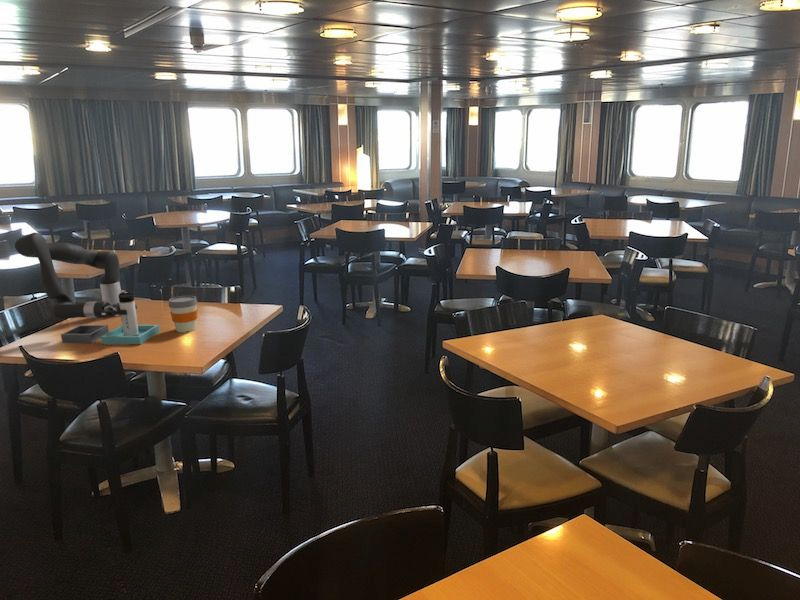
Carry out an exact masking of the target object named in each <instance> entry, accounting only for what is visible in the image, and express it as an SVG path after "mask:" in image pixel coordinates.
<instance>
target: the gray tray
mask: <svg viewBox="0 0 800 600" xmlns="http://www.w3.org/2000/svg"><path fill="white" fill-rule="evenodd" d="M109 332H110V331H109V325H108V324H101V325H100V324H90V325H89V324H80V325H77V326H75V327H73V328H70V329H69V330H67V331H65V332H63V333H61V334H60V337H61V342H62V344H93V343H95V342H96V341H98V340H101V337H102V336H103V335H105V334H107V333H109ZM94 341H95V342H94ZM92 342H93V343H92Z"/></svg>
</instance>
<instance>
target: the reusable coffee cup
mask: <svg viewBox="0 0 800 600" xmlns="http://www.w3.org/2000/svg"><path fill="white" fill-rule="evenodd" d="M197 304H198V301H197V296H195V295H181V296H175V297H172V298H169V299H168V307H169V309H170V315H171V320H172V322H173V324H174V327H175V332H177V331H178V332H177V333H182V332H183V333H188V332H187V331H191V332H193V331H192V330H194V329H195V330H197V319H198V308H197ZM195 330H194V331H195Z"/></svg>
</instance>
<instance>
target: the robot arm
mask: <svg viewBox="0 0 800 600" xmlns="http://www.w3.org/2000/svg"><path fill="white" fill-rule="evenodd" d="M14 248H15V250H16V252H17V253H18V254H20V255H21V256H23V257H26V258H37V259H38V262H39V265H40V284H41V286H42V288H43V290H44V292H45V294H46V296H47V298H48V299H49V300H54V301H55V302H56V304H54V305H53V306H52V307H51V309H50V313H51V315H52V316H53V317H54V318H56V319H58V320H68V319H75V318H90V319H108V318H113V317H120V316H121V315H126V314H127V310H120V303H119V294H120V293H122V289H121V282H120V276H121V270H120V261H119V256H118V255H117V253H115V252H114V251H105V250H103V251H101V250H99V251H97V250H89V249H85V248H84V247H82V246H80V245H77V244H74V243H69V242H51V243H49V242H47V240H46V238H45V237H44V235H42V234H41V233H39V232H32V233H29V234H26V235H23V236H21V237H19V238H17V240H16V241H15V243H14ZM53 261H57V262H62V263H67V264H71V265H73V264H74V265H85V266H89V267H92V268H95V269H99V270H104V275H103V276H101V277H99V280H98V281H99V287H100V292H101V298H102V301H100V300H99V301H79V302H78V301H77V302H75V303H74V301H73V300H72V299H71V297H70V296H69V295H68V294H67V292H65V290H64V288H63V287H62V283H61V282H60V280H59V278H58V275H57V273H56V270H55V267H54V263H53ZM135 309H136V310H137V309H138V306H137V304H135Z"/></svg>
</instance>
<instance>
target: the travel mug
mask: <svg viewBox="0 0 800 600" xmlns="http://www.w3.org/2000/svg"><path fill="white" fill-rule="evenodd" d="M135 302H136V301H135V295H134V293H131V292H121V293H120V294H119V303H120V310H127V314H126V315H120V316H121V318H120V319H121V324H122V326H123V333H124V336H139V332H138V325H139V324H138V317H137V309H135V305H136V303H135Z"/></svg>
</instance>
